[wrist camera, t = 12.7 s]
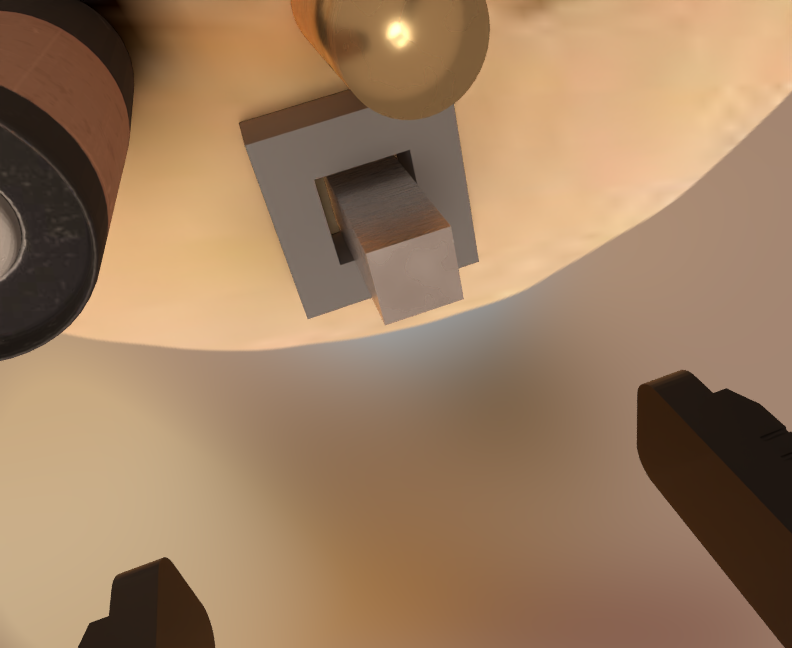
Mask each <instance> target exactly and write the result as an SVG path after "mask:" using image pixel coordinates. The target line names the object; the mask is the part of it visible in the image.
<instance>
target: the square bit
mask: <svg viewBox="0 0 792 648" xmlns="http://www.w3.org/2000/svg"><path fill="white" fill-rule="evenodd" d="M323 178H324V181H325V185H326V188H327V192H328V195H329V198H330V202H331V205H332V209H333V212H334V216H335V219H336V223H337V225H338V227H339V229H340V231H341V233H342V235H343V237H344V239H345V242H346V244H347V246H348V248H349V250H350V252H351V254H352V256H353V259H354V261H355V263H356V265H357V267H358V269H359V271H360V273H361V276H362V278H363V280H364V282H365V284H366V286H367V288H368V290H369V292H370V295H371V297H372V299H373V301H374V303H375V305H376V307H377V309H378V312H379V314H380V316H381V318H382V320H383V322H384V324H385V325H387V324H390V323H393V322H396V321H399V320H402V319H405V318H408V317H411V316H414V315H417V314H420V313H423V312H426V311H429V310H432V309H435V308H438V307H441V306H444V305H447V304H450V303H453V302H456V301H459V300H462V299H464V298H463V292H462V286H461V281H460V275H459V269H458V263H457V258H456V252H455V246H454V240H453V235H452V229H451V226H450V224H449V223H448V222H447V221H446V219H445V218H444V217H443V216H442V214H441V213H440V212H439V211H438V210H437V208H436V207H435V206H434V205H433V203H432V202H431V201H430V200H429V198H428V197H427V196H426V195H425V193H424V192H423V191H422V190H421V188H420V187H419V186H418V185H417V184H416V182H415V181H414V180H413V179H412V177H411V176H410V175H409V174H408V172H407V171H406V170H405V169H404V167H403V166H402V165H401V164H400V162H399V161H398V160H397V159H396V157H395V156H394V155H391V156H388V157H385V158H382V159H379V160H375V161H372V162H369V163H366V164H363V165H360V166H356V167H353V168H350V169H347V170H344V171H341V172H337V173H334V174H331V175H328V176H325V177H323Z"/></svg>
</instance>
